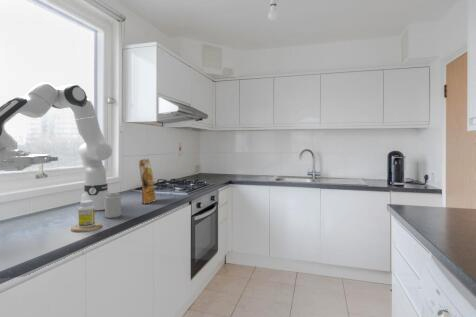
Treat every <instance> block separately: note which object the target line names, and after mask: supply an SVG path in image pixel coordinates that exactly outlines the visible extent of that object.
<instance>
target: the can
mask: <svg viewBox="0 0 476 317" xmlns="http://www.w3.org/2000/svg"><path fill="white" fill-rule="evenodd" d="M121 199H122V197H121V195H120V193H119V192H111V193H110V192H109V194H106V196H105V209H104V216H105V217H106V219H116V218H119V217H120V216H121V215H122V204H121V202H122V201H121Z"/></svg>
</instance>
